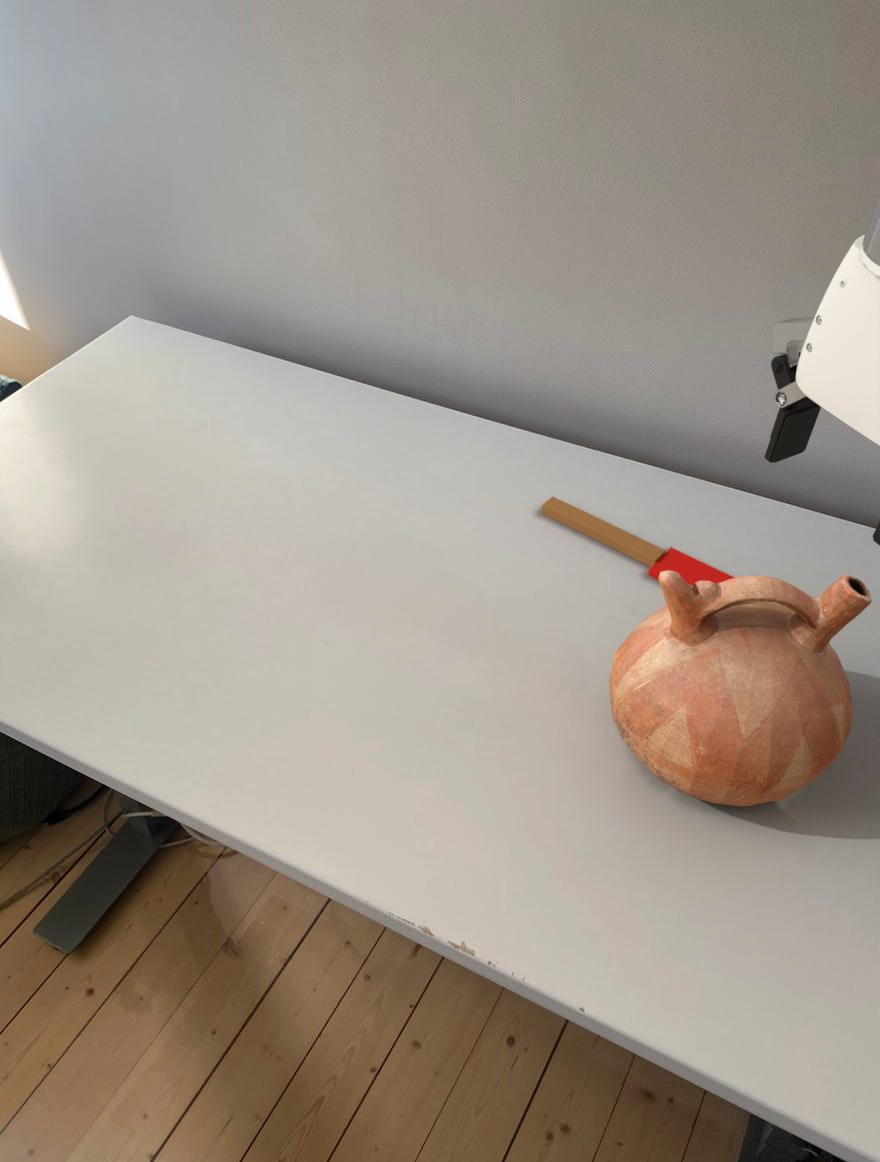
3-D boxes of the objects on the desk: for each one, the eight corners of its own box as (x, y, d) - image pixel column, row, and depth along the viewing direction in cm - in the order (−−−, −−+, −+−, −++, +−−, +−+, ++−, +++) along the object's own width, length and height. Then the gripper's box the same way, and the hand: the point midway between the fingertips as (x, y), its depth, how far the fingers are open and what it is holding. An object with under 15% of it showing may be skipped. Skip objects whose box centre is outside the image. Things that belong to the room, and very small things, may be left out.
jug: (599, 828, 75) (641, 665, 60) (596, 661, 87) (631, 491, 72) (836, 852, 73) (940, 690, 58) (800, 678, 85) (878, 507, 70)
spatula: (557, 499, 103) (558, 490, 102) (740, 586, 93) (743, 577, 92) (534, 518, 101) (535, 510, 100) (719, 610, 91) (722, 602, 90)
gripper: (1143, 289, 45) (984, 553, 57) (870, 168, 55) (786, 414, 68) (1037, 326, 43) (896, 593, 55) (773, 193, 53) (705, 442, 66)
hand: (835, 494), depth 62 cm, fingers open, 9 cm apart
